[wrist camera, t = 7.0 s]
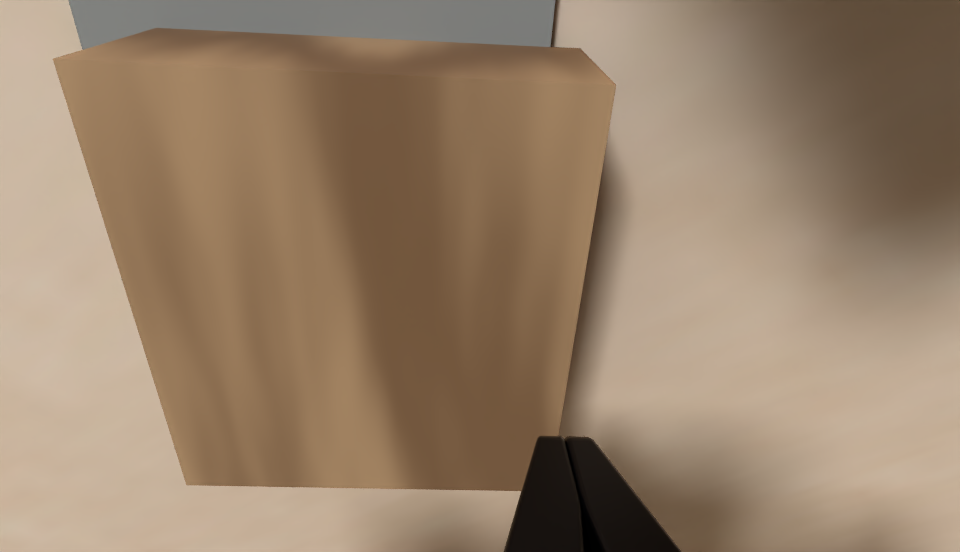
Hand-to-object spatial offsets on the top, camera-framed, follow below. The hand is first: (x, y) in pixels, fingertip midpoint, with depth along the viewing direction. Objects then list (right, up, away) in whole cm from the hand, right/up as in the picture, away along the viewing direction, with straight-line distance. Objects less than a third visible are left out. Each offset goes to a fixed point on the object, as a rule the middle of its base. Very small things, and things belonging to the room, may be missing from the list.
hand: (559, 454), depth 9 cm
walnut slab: (+1, +3, +4) cm, 5 cm away
